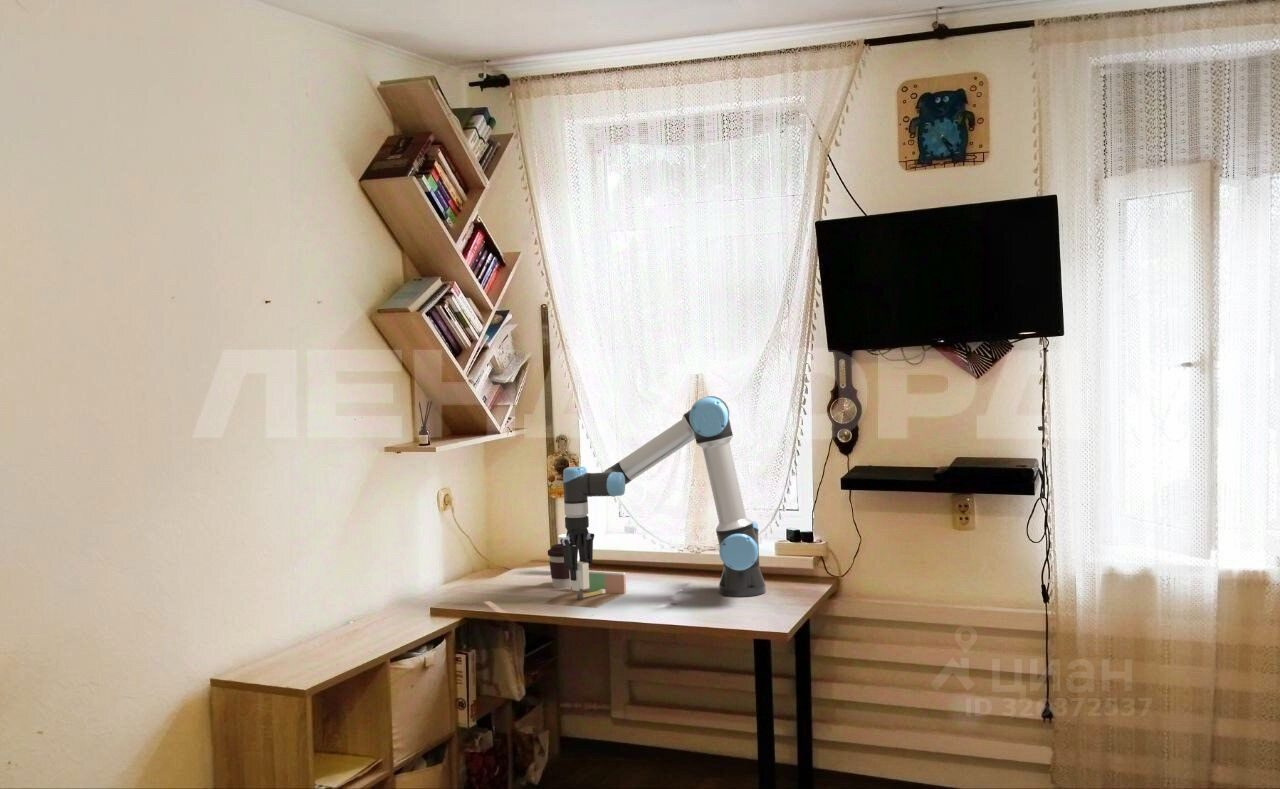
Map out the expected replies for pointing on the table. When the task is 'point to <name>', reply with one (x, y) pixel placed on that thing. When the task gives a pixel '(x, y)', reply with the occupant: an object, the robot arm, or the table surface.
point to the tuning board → (591, 601)
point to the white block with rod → (584, 581)
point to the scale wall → (607, 582)
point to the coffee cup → (558, 567)
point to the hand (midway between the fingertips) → (579, 589)
